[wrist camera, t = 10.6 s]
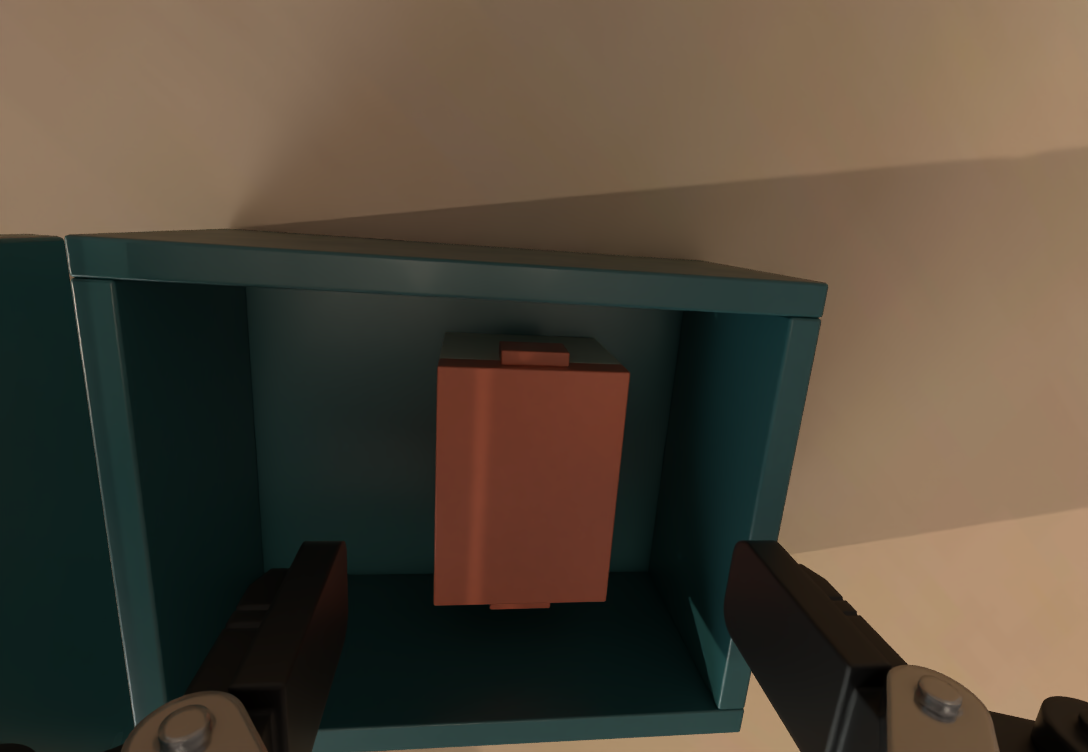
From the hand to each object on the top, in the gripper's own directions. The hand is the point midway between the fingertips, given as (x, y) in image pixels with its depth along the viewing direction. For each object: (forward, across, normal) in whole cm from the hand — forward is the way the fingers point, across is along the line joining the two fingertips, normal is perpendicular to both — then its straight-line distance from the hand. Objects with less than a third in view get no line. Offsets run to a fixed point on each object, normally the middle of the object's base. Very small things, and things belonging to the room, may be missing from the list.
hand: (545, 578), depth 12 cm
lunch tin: (+9, +2, 0) cm, 9 cm away
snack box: (+8, 0, 0) cm, 8 cm away
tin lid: (-7, +10, 0) cm, 12 cm away
